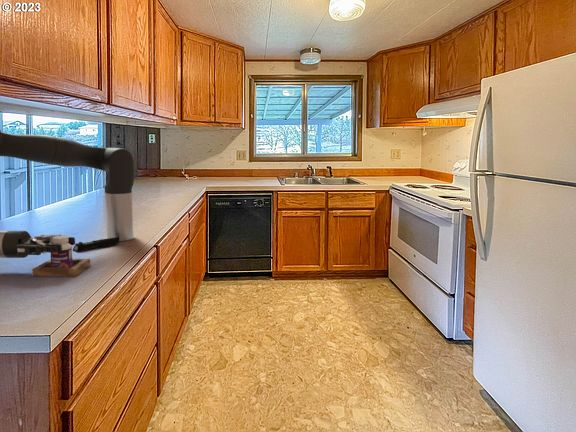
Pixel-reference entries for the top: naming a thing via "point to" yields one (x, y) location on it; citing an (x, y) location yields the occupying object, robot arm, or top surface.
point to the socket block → (48, 271)
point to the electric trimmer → (95, 244)
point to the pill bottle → (62, 253)
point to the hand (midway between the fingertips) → (68, 244)
